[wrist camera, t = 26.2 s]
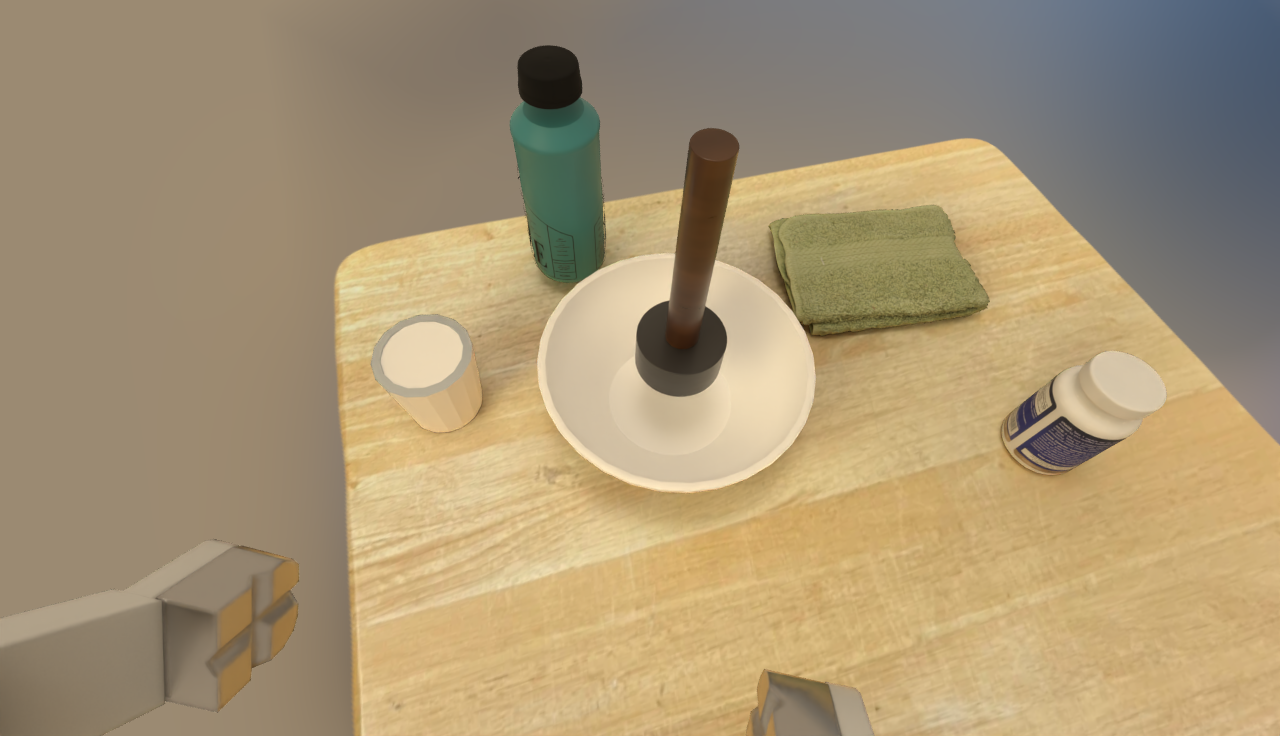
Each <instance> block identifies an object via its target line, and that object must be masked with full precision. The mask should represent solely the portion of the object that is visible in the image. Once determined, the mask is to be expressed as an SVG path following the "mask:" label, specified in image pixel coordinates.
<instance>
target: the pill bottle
mask: <svg viewBox="0 0 1280 736" xmlns="http://www.w3.org/2000/svg"><path fill="white" fill-rule="evenodd" d="M1166 397H1167V392H1166V387H1165V385H1164V382H1163V381H1162V379H1161V377H1160V376H1159V375H1158V373H1157V372H1156V371H1155V370H1154V369H1153V368H1152V367H1151V366H1150V365H1148V364H1147V363H1145V362H1144V361H1143V360H1141V359H1139V358H1137V357H1135V356H1133V355H1130V354H1128V353H1124V352H1120V351H1106V352H1102V353H1099V354H1098V355H1096V356H1095V357H1093V358H1092V359H1091V360H1089V361H1088V362H1086V363H1085V364H1084V365H1078V366H1074V367H1070V368H1068V369H1066V370H1064V371H1063V372H1061V373H1060V374H1058V375H1057V376H1056V377H1055V378H1053V379H1052V380H1051V381H1049V382H1048V383H1047V384H1046V385H1045V386H1043V387H1042V388H1041V389H1039V390H1038V391H1037V392H1036V393H1035V394H1033V395H1032V396H1031V397H1030V398H1028V399H1027V400H1026V401H1025V402H1023V403H1022V404H1021V405H1020V406H1018V407H1017V408H1016V409H1015V410H1013V411H1012V412H1011V413H1010V414H1009V415H1008V416H1007V417H1006V419H1005V420H1004V422H1003V425H1002V438H1003V441H1004V444H1005V446H1006V448H1007V450H1008V451H1009V453H1010V454H1011V455H1012V456H1013V457H1014V458H1015V460H1017V461H1018V462H1019V463H1020V464H1022V465H1023V466H1025V467H1026V468H1028V469H1030V470H1032V471H1034V472H1037V473H1040V474H1045V475H1058V474H1062V473H1065V472H1068V471H1069V470H1071V469H1073V468H1075V467H1076V466H1078V465H1080V464H1082V463H1083V462H1085V461H1087V460H1089V459H1090V458H1092V457H1094V456H1096V455H1097V454H1099V453H1101V452H1103V451H1104V450H1106V449H1108V448H1110V447H1111V446H1113V445H1115V444H1117V443H1118V442H1120V441H1122V440H1124V439H1125V438H1127V437H1129V436H1130V435H1132V434H1133V433H1134V432H1135V431H1136V430H1137V429H1138V428H1139V427H1140V425H1141V423H1142V420H1143V418H1146V417H1147V416H1149V415H1150V414H1152V413H1153V412H1155V411H1157V410H1158V409H1160V408H1161V407H1162V406H1163V405H1164V403H1165V401H1166Z"/></svg>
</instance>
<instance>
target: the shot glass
mask: <svg viewBox="0 0 1280 736" xmlns="http://www.w3.org/2000/svg"><path fill="white" fill-rule="evenodd" d="M371 367H372V370H373V373H374V377H375V380H376V381H377V382H378V383H379V384H380V385H381V386H382V387H383V388H384V389H385V390H386V391H387V392H388V393H389V394H390V395H391V396H392V397H393V398H394V399H395V400H396V401H397V403H398V404H399V405H400V406H401V407H402V408H403V409H404V410H405V411H406V412H407V413H408V414H409V415H410V416H411V417H412V418H413V419H414V420H415V421H416V422H417V423H418V424H419V425H420V426H421V427H422V428H424V429H426V430H429V431H432V432H435V433H439V432H451V431H454V430H457V429H459V428H462V427H464V426H465V425H466V424H468V423H469V422H470V421H471V420H472V419H473V418H475V416H476V414H477V413H478V411H479V409H480V407H481V405H482V388H481V383H480V379H479V374H478V369H477V364H476V359H475V354H474V349H473V345H472V342H471V340H470V337H469V335H468V332H467V330H466V329H465V328H463V327H462V326H461V325H460V324H459V323H458V322H457V321H455V320H454V319H450V318H447V317H444V316H441V315H438V314H437V315H417V316H414V317H411V318H408V319H405V320H403V321H400V322H399V323H397V324H396V325H394V326H393V327H392V328H390V329H389V330H387V331H386V332H385V333H384V334H383V336H382V337H381V338H380V340H379V341H378V343H377V344H376V346H375V347H374V350H373V355H372V360H371Z"/></svg>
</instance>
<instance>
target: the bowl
mask: <svg viewBox="0 0 1280 736" xmlns="http://www.w3.org/2000/svg"><path fill="white" fill-rule="evenodd" d="M674 261H675V253H660V254H649V255H641V256H637V257H633V258H629V259H625V260H621V261H618V262H616V263H613V264H611V265H609V266H606V267H604V268H602V269H600V270H597V271H596V272H594V273H593V274H591V275H590V276H588V277H587V278H585V279H584V280H582V281H581V282H579V283H578V284H577V285H576V286H575V287H574V288H573V289H572V290H571V291H570V292H569V293H568V294H567V295H566V296H565V297H564V298H563V299H562V300H561V301H560V303H559V304H558V306H557V307H556V309H555V310H554V311H553V313H552V314H551V316H550V317H549V320H548V322H547V325H546V327H545V330H544V332H543V334H542V337H541V340H540V347H539V353H538V359H537V367H538V381H539V388H540V391H541V394H542V397H543V400H544V404H545V407H546V410H547V411H548V413H549V415H550V417H551V418H552V420H553V422H554V423H555V425H556V427H557V429H558V430H559V432H560V433H561V435H562V436H563V437H564V438H565V439H566V440H567V441H568V442H569V443H570V444H571V446H572V447H573V448H574V449H575V450H576V451H577V452H578V453H579V454H580V455H581V456H582V457H583V458H585V459H586V460H588V461H589V462H590V463H592V464H593V465H594V466H596V467H597V468H599V469H600V470H601V471H603V472H604V473H607V474H609V475H611V476H613V477H615V478H617V479H620V480H622V481H624V482H626V483H628V484H631V485H635V486H639V487H643V488H647V489H651V490H655V491H659V492H675V493H694V492H702V491H709V490H716V489H720V488H723V487H726V486H729V485H732V484H735V483H738V482H741V481H743V480H746V479H748V478H749V477H751V476H753V475H754V474H756V473H758V472H759V471H761V470H763V469H764V468H766V467H767V466H769V465H771V464H772V463H773V462H774V461H776V460H777V459H778V458H779V457H780V456H781V455H782V454H783V453H784V452H785V451H786V450H787V449H788V448H789V447H790V446H791V445H792V444H793V442H794V441H795V439H796V438H797V436H798V435H799V433H800V432H801V430H802V428H803V427H804V425H805V424H806V421H807V418H808V415H809V412H810V410H811V407H812V404H813V401H814V392H815V383H816V373H815V365H814V357H813V353H812V350H811V347H810V344H809V341H808V339H807V336H806V333H805V331H804V329H803V328H802V326H801V324H800V323H799V321H798V319H797V318H796V316H795V314H794V313H793V311H792V310H791V309H790V308H789V307H788V306H787V305H786V304H785V303H784V301H783V300H782V299H781V298H780V297H779V296H778V295H777V294H776V293H775V292H774V291H772V290H771V289H770V288H769V287H767V286H766V285H765V284H763V283H762V282H761V281H760V280H758V279H757V278H755V277H753V276H751V275H749V274H748V273H746V272H744V271H742V270H741V269H739V268H737V267H734V266H731V265H729V264H726V263H723V262H721V261H718V260H715V263H714V268H713V273H712V277H711V282H710V287H709V291H708V296H707V301H706V305H705V306H706V307H708V308H709V309H710V310H712V311H713V312H714V313H715V314H716V315H717V316H718V317H719V318H720V320H721V321H722V323H723V325H724V327H725V329H726V333H727V346H726V350H725V354H724V357H723V360H722V364H721V367H720V370H719V373H718V376H717V378H716V379H715V381H714V382H713V383H712V384H711V385H710V386H709V387H708V388H707V389H705V390H704V391H702V392H700V393H698V394H695V395H691V396H686V397H675V396H669V395H665V394H662V393H660V392H658V391H656V390H654V389H653V388H651V387H650V386H649V385H647V384H646V383H645V381H644V380H643V379H642V378H641V376H640V375H639V373H638V370H637V368H636V363H635V349H636V332H637V327H638V324H639V322H640V320H641V318H642V316H643V315H644V314H645V313H646V312H647V311H648V310H649V309H650V308H652V307H653V306H655V305H657V304H659V303H662V302H664V301H669V300H670V292H671V284H672V276H673V269H674Z"/></svg>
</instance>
